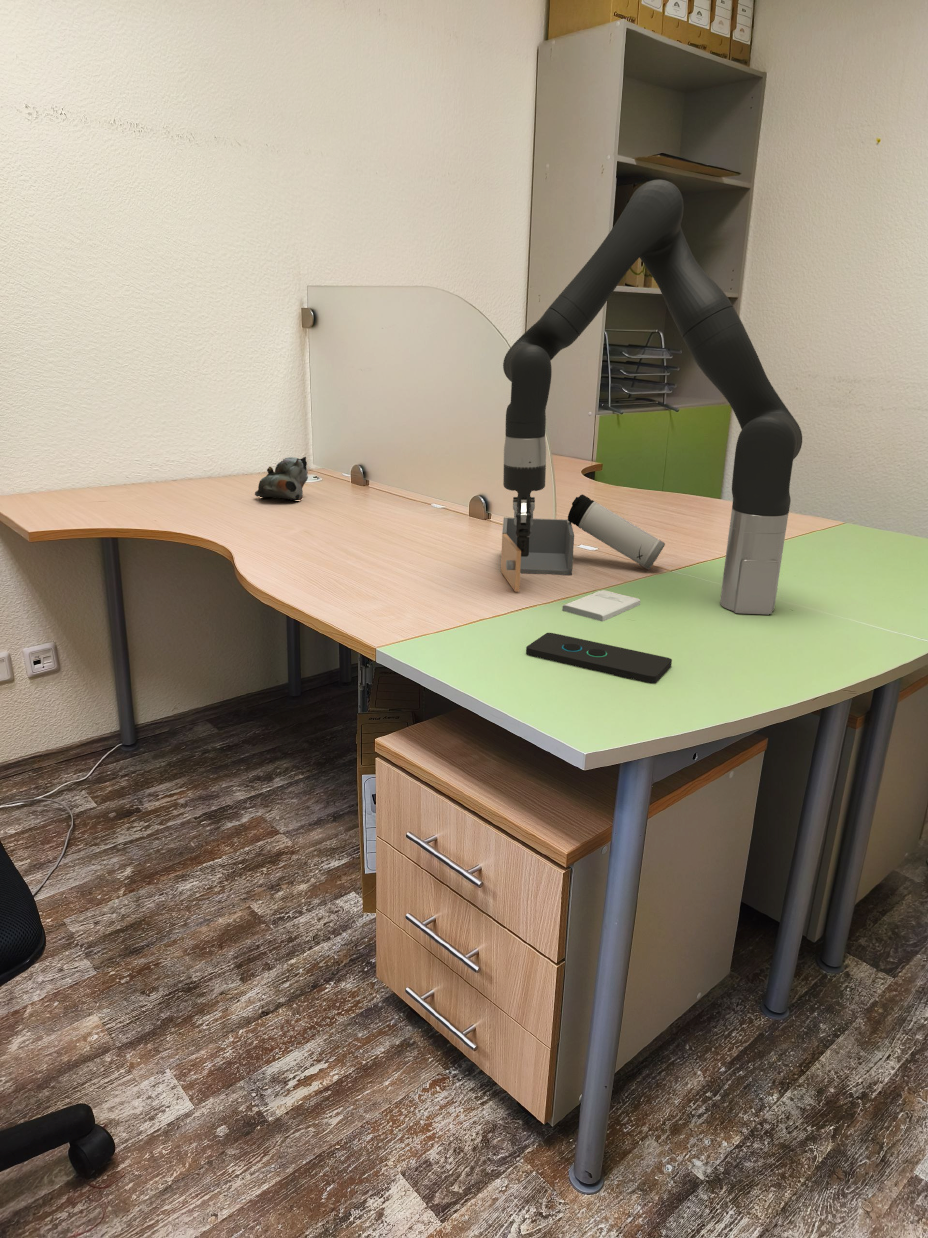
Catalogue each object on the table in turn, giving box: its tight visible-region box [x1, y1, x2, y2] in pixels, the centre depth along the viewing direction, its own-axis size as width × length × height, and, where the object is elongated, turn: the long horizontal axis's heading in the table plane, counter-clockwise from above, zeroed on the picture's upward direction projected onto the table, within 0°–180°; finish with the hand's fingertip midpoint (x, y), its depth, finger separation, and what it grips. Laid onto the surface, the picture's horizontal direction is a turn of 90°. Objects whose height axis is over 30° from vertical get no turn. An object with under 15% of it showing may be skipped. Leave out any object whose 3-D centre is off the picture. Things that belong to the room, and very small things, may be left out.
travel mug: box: [567, 494, 666, 570], centre depth 170 cm, size 6×7×20 cm
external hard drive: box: [561, 589, 641, 623], centre depth 146 cm, size 2×8×12 cm
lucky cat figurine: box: [254, 456, 309, 501], centre depth 227 cm, size 15×12×14 cm
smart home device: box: [525, 632, 673, 684], centre depth 122 cm, size 8×2×20 cm
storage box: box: [501, 517, 575, 576], centre depth 170 cm, size 14×14×8 cm
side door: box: [500, 533, 521, 592], centre depth 157 cm, size 2×13×8 cm, turn 9°
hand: (522, 555), depth 154 cm, fingers closed
